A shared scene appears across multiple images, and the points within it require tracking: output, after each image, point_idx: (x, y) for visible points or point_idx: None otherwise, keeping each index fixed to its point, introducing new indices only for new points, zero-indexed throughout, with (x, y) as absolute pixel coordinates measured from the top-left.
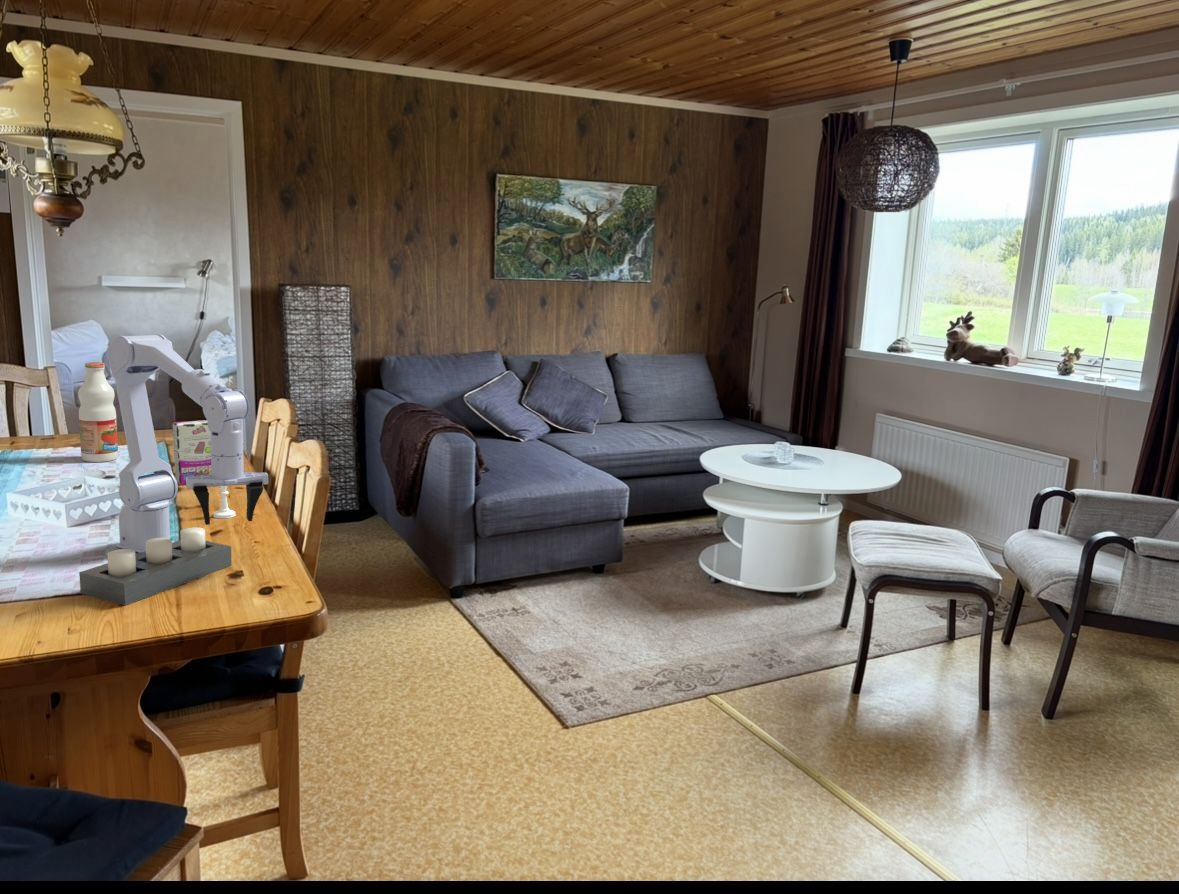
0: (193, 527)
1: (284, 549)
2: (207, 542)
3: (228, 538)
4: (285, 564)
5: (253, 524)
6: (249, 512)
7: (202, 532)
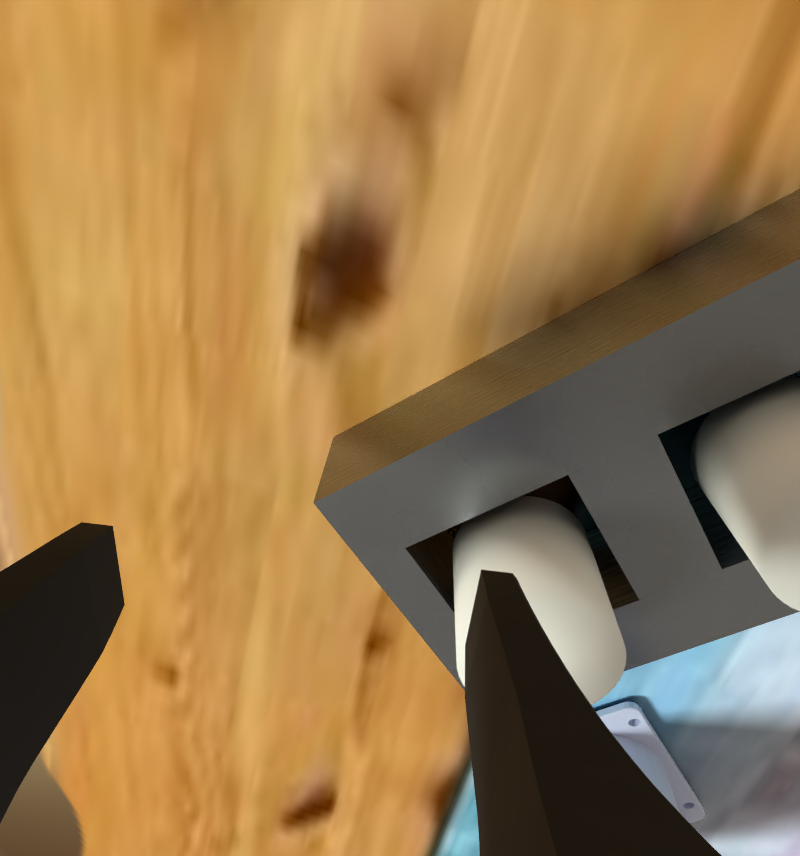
0: None
1: None
2: (425, 614)
3: (277, 746)
4: (46, 327)
5: (160, 830)
6: (42, 576)
7: None
